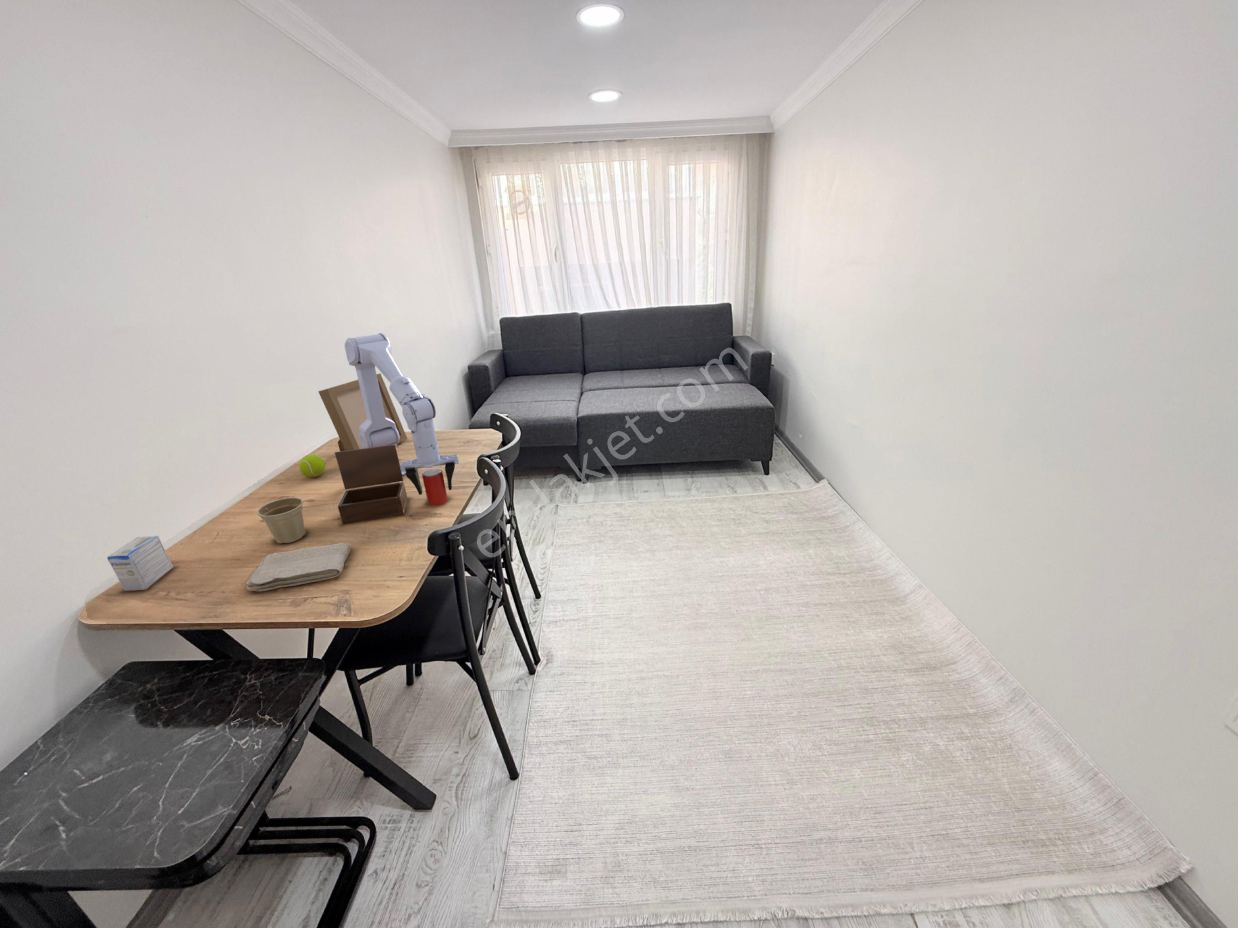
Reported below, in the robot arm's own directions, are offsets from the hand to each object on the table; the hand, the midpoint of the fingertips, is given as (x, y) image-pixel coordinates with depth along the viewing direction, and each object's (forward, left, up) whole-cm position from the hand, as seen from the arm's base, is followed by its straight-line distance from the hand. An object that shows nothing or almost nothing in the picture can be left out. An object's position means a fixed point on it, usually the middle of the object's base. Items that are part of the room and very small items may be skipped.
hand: (435, 490), depth 134 cm
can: (0, 0, -3) cm, 3 cm away
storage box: (-11, -11, -3) cm, 16 cm away
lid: (-14, -8, +8) cm, 18 cm away
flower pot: (-19, -29, -3) cm, 35 cm away
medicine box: (-30, -53, -3) cm, 61 cm away
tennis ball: (-50, -4, -3) cm, 50 cm away
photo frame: (-54, +18, -3) cm, 57 cm away
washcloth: (-2, -36, -3) cm, 37 cm away
